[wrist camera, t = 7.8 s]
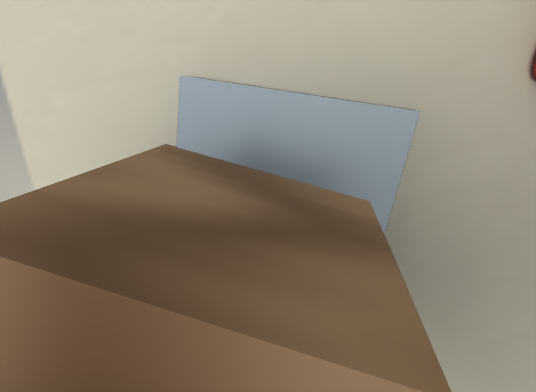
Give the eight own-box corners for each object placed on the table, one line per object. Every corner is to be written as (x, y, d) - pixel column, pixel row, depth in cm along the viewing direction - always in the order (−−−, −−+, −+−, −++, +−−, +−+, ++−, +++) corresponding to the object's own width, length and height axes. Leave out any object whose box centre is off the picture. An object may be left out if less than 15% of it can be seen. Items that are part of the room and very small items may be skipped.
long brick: (370, 201, 9) (455, 401, 3) (280, 436, 12) (244, 731, 7) (165, 144, 9) (-80, 230, 4) (135, 386, 13) (-14, 624, 7)
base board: (413, 110, 16) (420, 111, 15) (351, 328, 21) (352, 342, 20) (189, 76, 17) (179, 75, 16) (178, 288, 22) (170, 299, 21)
